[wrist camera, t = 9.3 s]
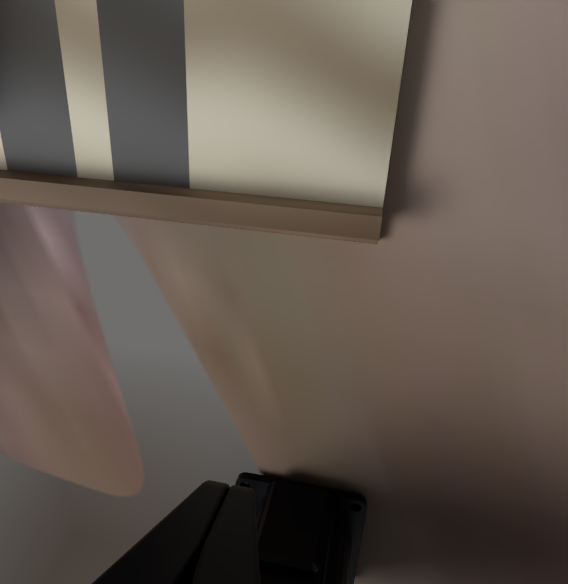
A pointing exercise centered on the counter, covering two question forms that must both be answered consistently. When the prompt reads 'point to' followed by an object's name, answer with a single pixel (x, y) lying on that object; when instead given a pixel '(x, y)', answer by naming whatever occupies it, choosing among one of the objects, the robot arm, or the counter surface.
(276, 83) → the trap lane
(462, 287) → the counter surface
